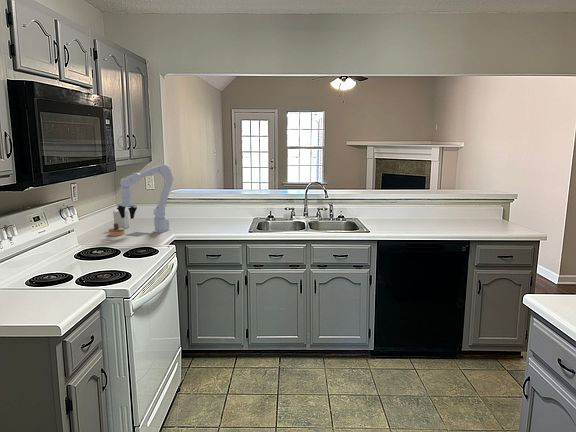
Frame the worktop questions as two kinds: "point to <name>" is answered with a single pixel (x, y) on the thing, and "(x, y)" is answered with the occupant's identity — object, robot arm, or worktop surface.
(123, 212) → the robot arm
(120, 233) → the bowl
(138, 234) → the mat
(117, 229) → the lid
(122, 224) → the supplement box
